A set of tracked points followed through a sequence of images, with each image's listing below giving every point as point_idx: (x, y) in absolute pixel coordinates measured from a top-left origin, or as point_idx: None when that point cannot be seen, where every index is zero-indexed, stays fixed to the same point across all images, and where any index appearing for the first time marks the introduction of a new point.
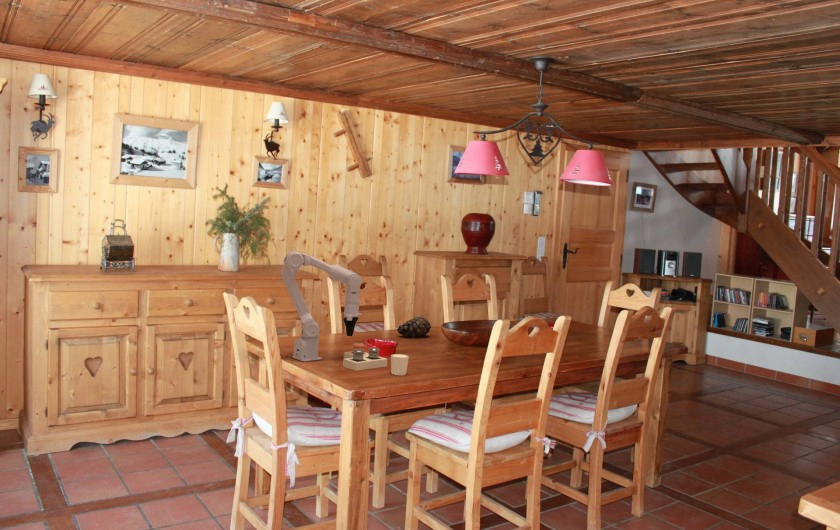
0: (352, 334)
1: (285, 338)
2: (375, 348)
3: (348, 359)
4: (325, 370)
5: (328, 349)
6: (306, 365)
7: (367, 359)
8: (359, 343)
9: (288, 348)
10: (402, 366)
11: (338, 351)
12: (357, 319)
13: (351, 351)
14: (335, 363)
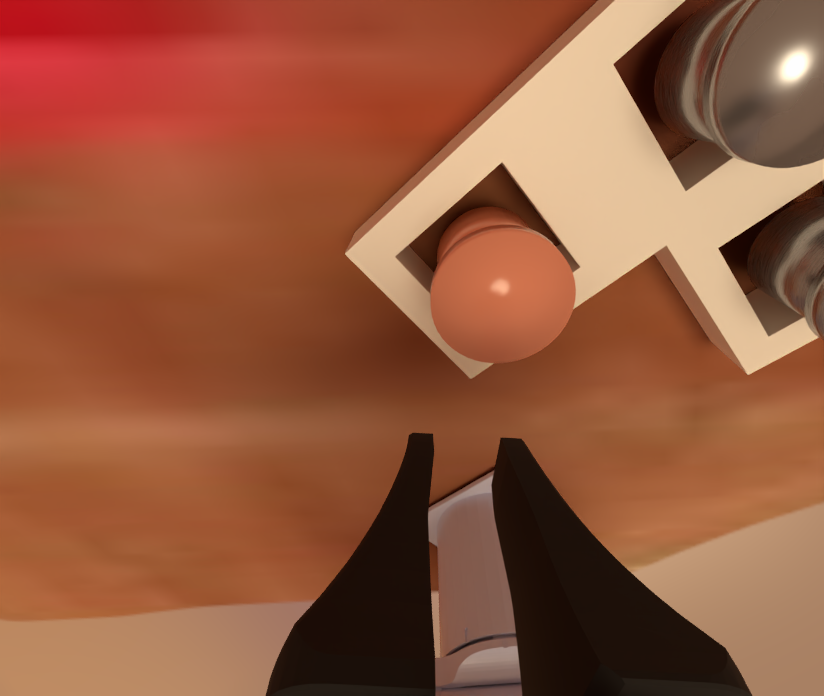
0: (528, 451)
1: (30, 620)
2: (815, 37)
3: (777, 336)
4: (817, 434)
5: (166, 446)
6: (668, 520)
7: None
8: (459, 293)
9: (264, 599)
10: None
11: (192, 388)
12: (432, 655)
13: (419, 322)
14: (606, 390)
